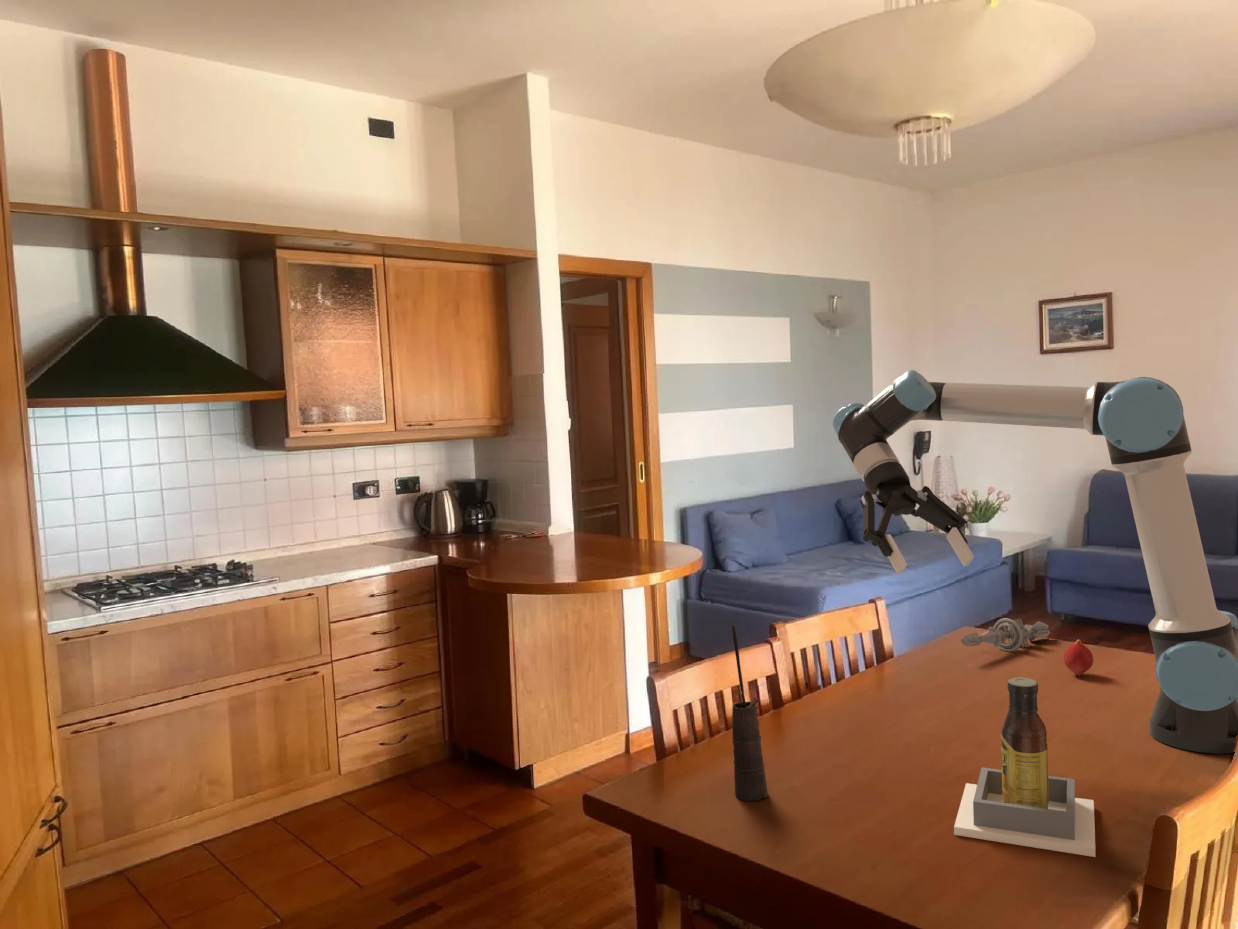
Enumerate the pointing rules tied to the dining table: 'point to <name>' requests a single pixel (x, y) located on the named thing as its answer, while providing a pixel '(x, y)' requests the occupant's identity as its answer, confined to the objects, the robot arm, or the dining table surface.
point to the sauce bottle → (1024, 748)
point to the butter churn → (747, 745)
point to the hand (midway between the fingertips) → (936, 565)
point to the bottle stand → (1027, 816)
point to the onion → (1078, 658)
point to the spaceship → (1008, 634)
